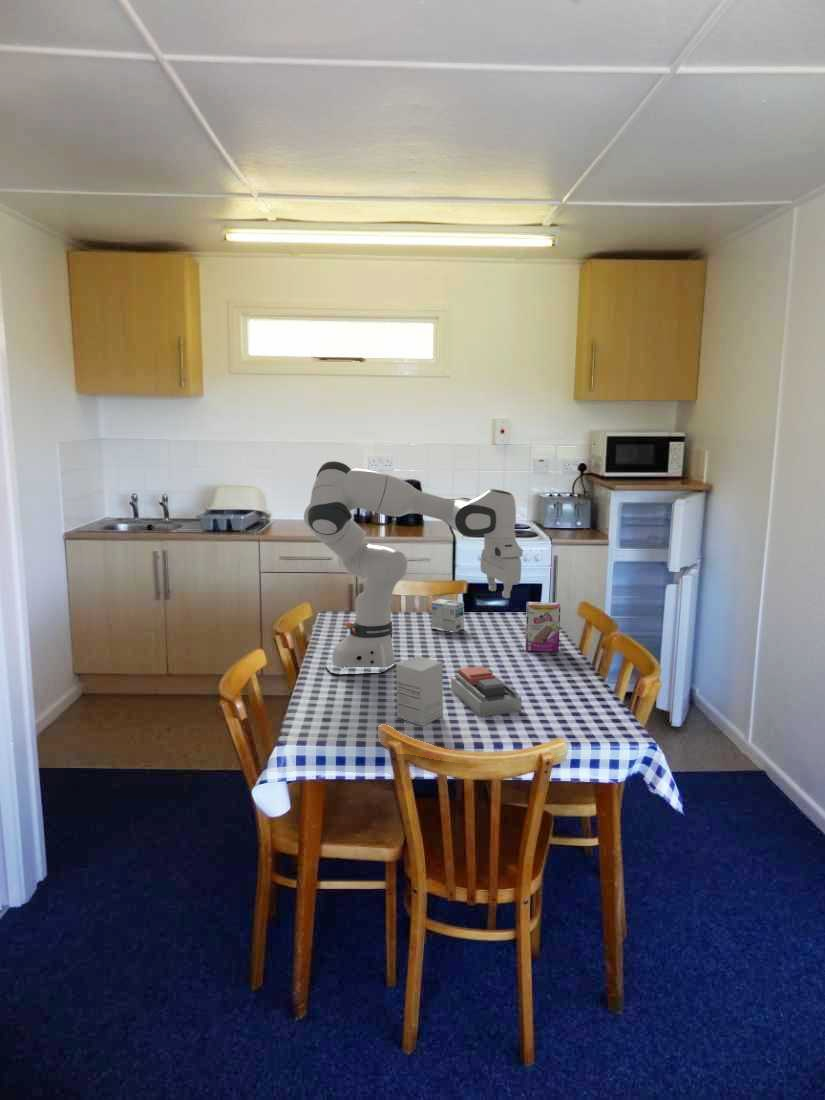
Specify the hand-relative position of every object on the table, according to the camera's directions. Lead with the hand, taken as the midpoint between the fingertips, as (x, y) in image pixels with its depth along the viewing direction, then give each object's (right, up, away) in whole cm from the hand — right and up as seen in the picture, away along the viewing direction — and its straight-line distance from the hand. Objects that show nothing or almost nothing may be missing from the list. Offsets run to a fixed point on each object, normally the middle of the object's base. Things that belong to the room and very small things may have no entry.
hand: (499, 594), depth 217 cm
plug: (-4, -29, -11) cm, 31 cm away
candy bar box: (+19, -22, +39) cm, 49 cm away
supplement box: (-23, -32, -18) cm, 43 cm away
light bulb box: (-12, -17, +66) cm, 69 cm away
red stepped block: (-7, -24, -1) cm, 25 cm away
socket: (-5, -29, -6) cm, 30 cm away
